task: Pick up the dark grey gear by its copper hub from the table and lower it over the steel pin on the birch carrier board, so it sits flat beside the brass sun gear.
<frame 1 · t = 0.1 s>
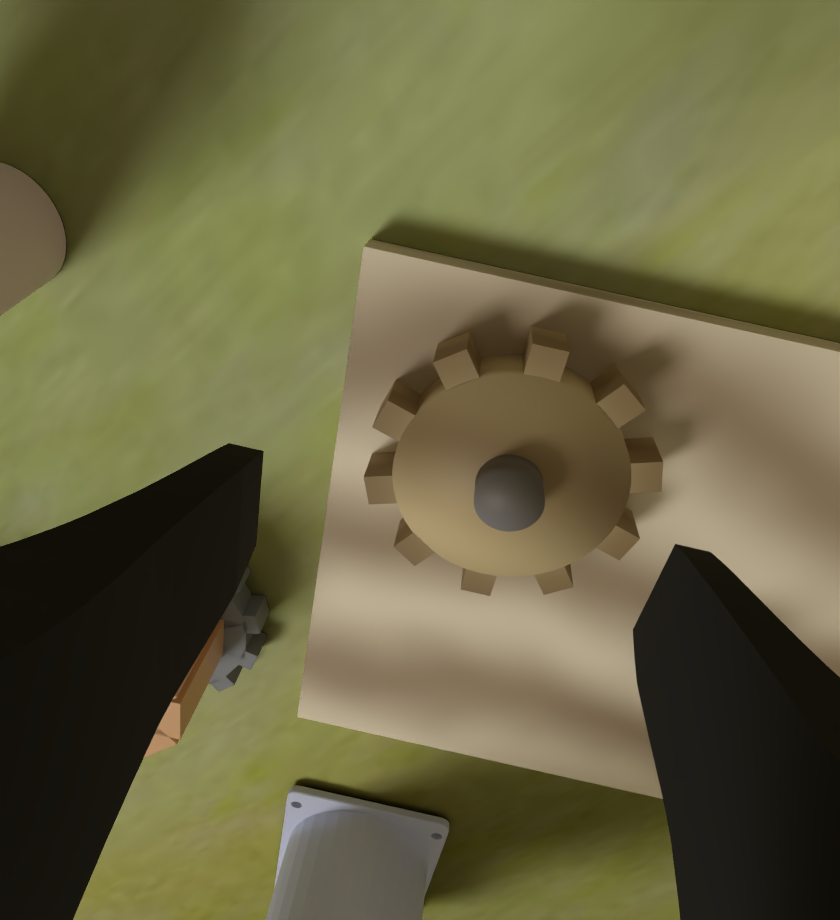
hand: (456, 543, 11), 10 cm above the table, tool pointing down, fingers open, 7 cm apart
carrier: (598, 577, 24), on the table
planet gear: (170, 601, 27), on the table
smoothie: (11, 226, 20), on the table
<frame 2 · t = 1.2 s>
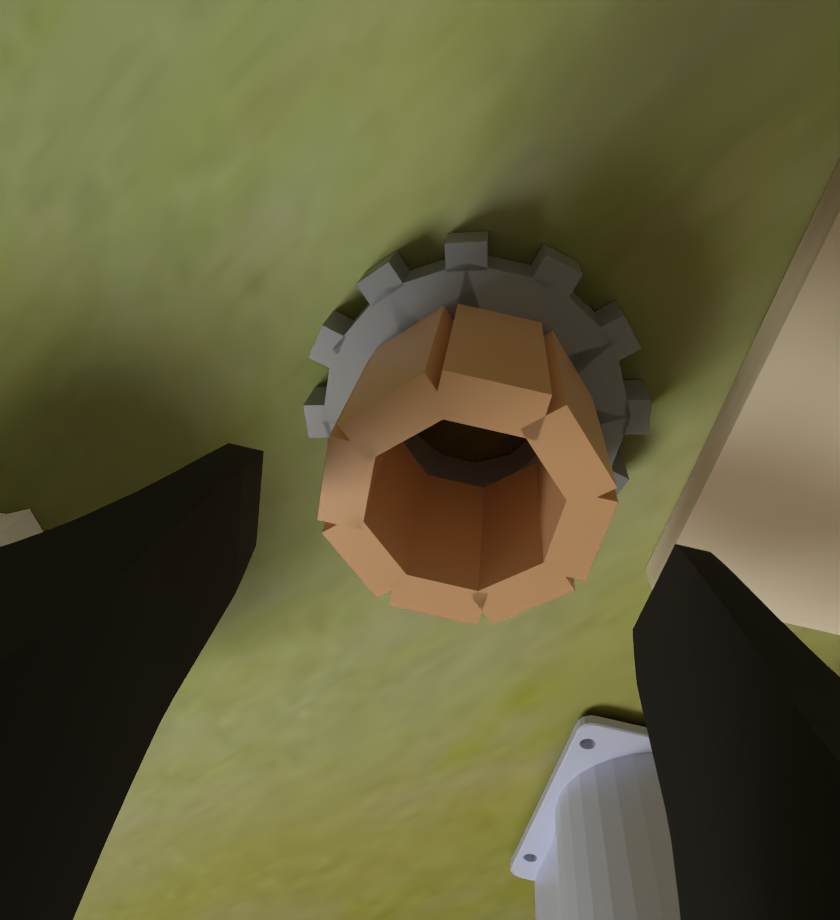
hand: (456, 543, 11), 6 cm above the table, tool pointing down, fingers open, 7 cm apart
cup: (6, 590, 23), on the table
planet gear: (474, 399, 17), on the table
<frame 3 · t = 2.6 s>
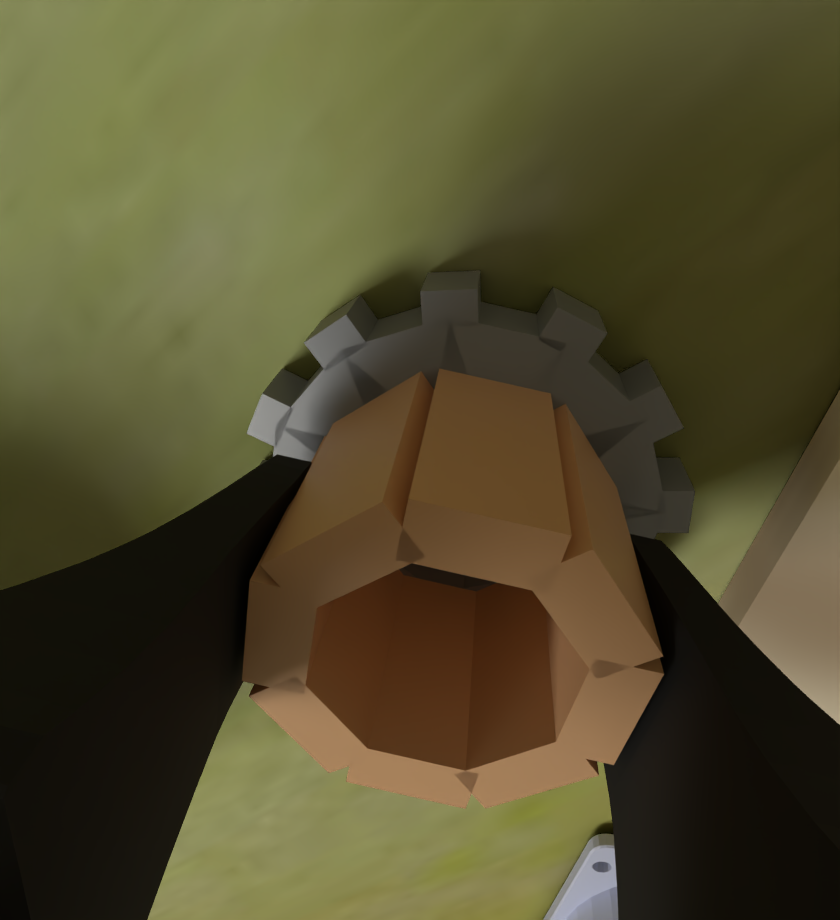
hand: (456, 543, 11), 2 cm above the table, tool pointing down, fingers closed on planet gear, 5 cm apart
planet gear: (463, 478, 13), on the table, touching gripper
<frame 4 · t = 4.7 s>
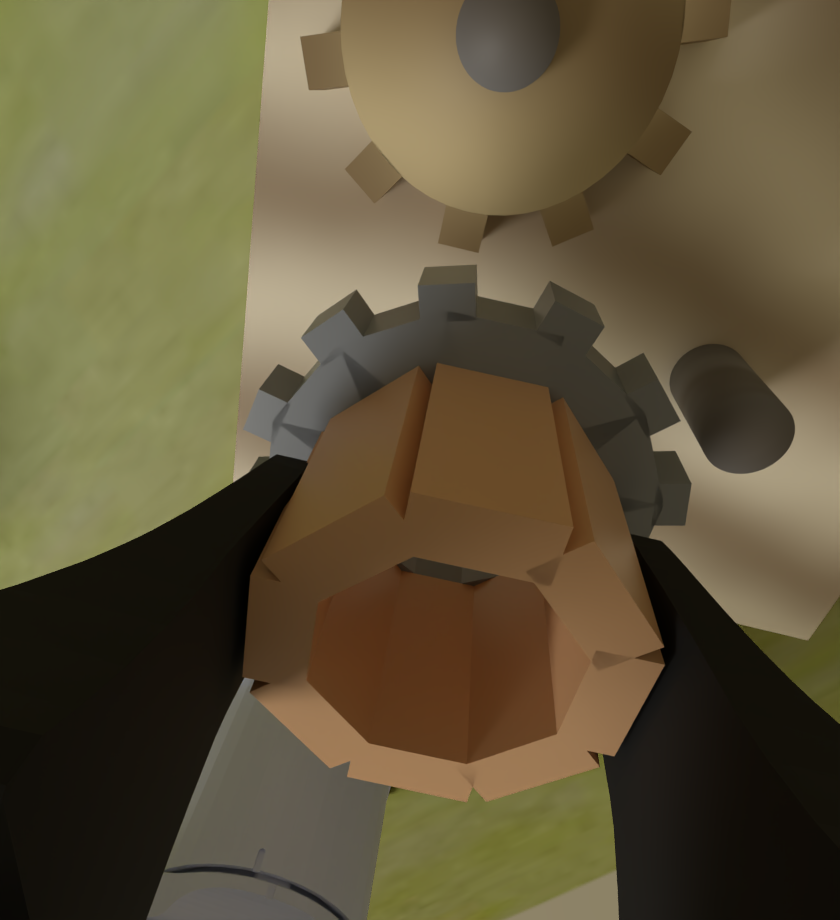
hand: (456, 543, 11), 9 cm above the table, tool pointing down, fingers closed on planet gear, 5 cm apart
carrier: (622, 273, 18), on the table
planet gear: (460, 473, 13), point 7 cm above the table, touching gripper
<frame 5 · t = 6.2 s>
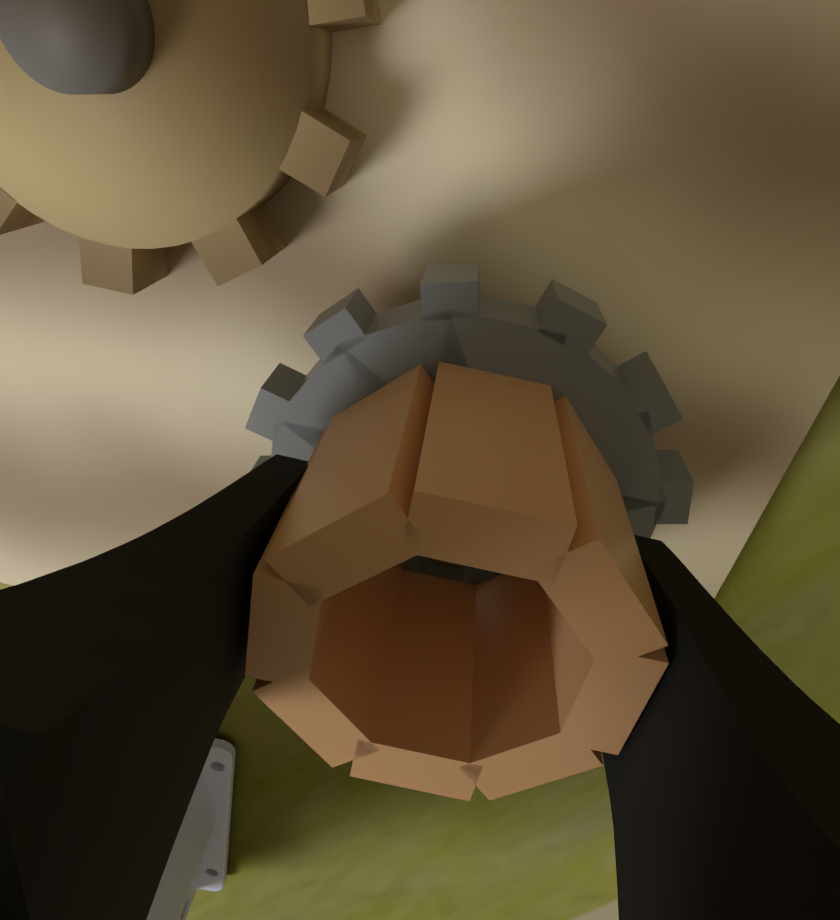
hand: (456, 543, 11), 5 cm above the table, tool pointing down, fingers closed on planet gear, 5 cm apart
carrier: (360, 309, 15), on the table
planet gear: (462, 472, 13), point 3 cm above the table, touching gripper
when the fingers open (5 cm above the table, at t = 7.2 s): planet gear drops 2 cm, resting on carrier.
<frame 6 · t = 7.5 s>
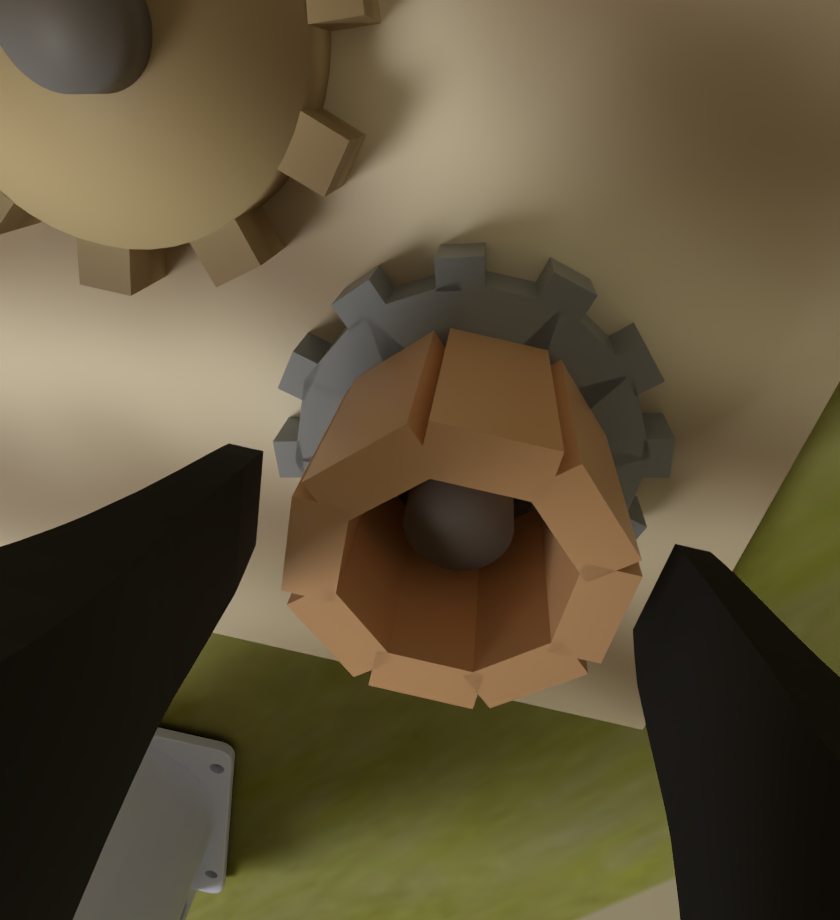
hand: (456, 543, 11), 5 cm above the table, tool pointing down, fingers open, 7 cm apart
carrier: (359, 310, 15), on the table
planet gear: (469, 433, 15), point 1 cm above the table, touching carrier
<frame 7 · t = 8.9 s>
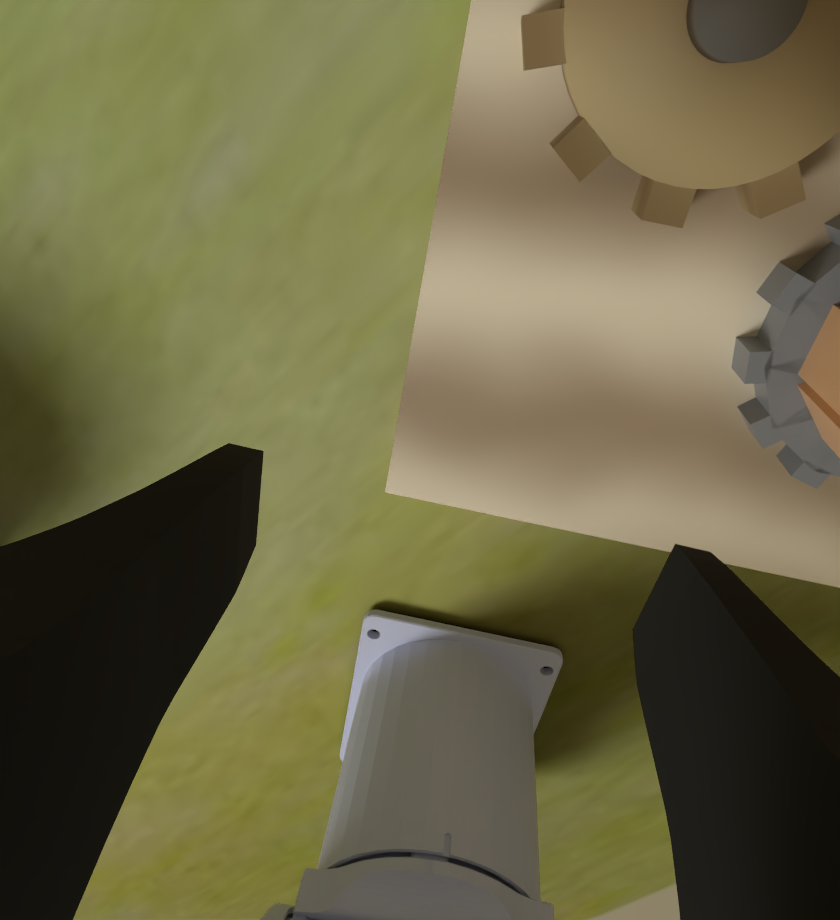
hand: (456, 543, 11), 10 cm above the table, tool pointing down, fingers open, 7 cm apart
carrier: (803, 246, 18), on the table
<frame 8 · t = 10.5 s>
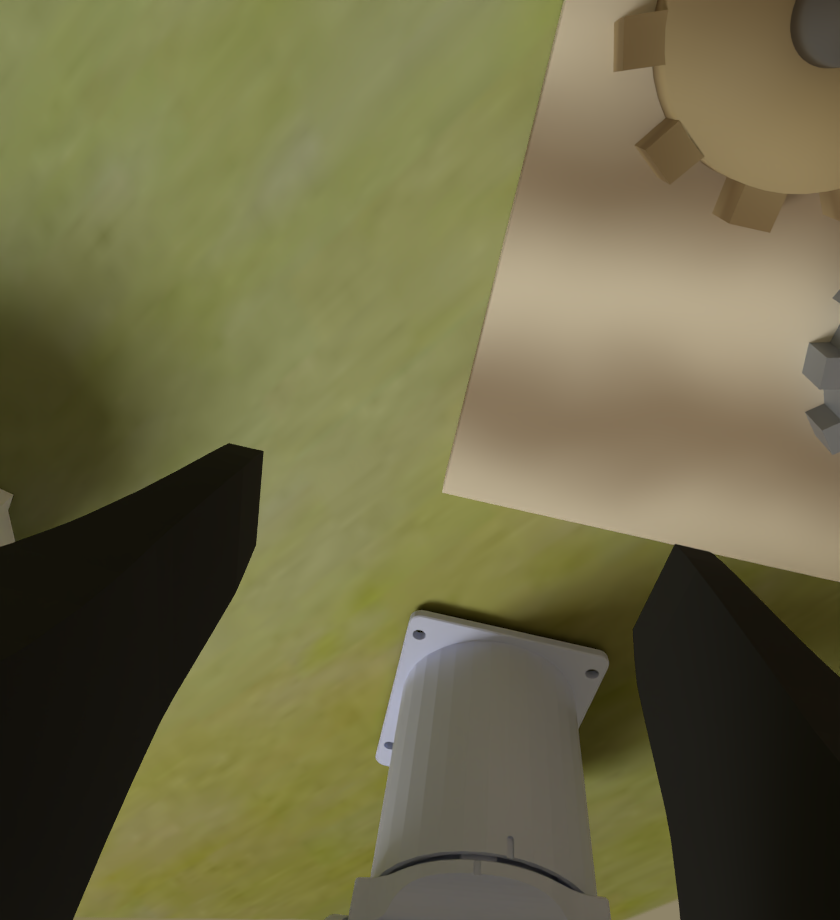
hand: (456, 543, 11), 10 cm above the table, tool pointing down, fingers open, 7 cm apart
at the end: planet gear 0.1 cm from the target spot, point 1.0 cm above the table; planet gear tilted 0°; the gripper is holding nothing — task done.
